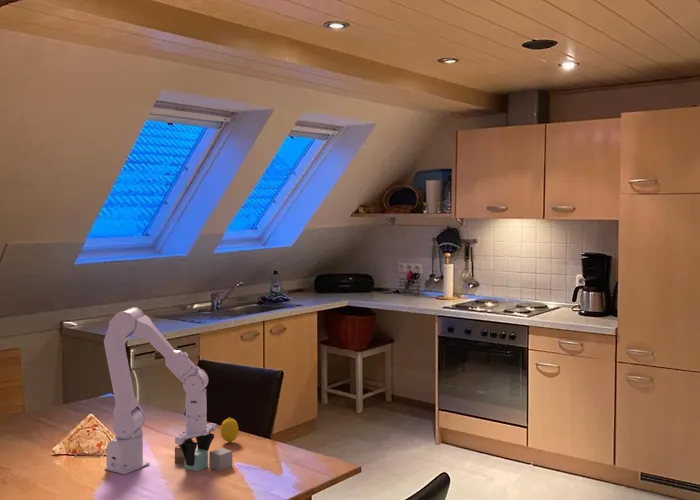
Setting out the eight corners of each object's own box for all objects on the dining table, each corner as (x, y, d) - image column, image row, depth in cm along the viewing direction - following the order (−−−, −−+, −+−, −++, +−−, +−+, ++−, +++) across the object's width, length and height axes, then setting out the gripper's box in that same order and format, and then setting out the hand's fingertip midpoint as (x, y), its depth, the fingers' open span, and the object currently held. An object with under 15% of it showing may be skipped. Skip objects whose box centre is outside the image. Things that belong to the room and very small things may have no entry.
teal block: (196, 471, 191) (196, 455, 191) (184, 468, 193) (184, 452, 193) (207, 466, 195) (207, 450, 195) (195, 463, 197) (195, 447, 197)
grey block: (219, 471, 192) (219, 455, 192) (209, 467, 195) (209, 451, 194) (232, 466, 195) (232, 451, 195) (222, 463, 198) (222, 447, 198)
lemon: (234, 446, 212) (234, 420, 211) (217, 445, 213) (217, 419, 213) (241, 440, 217) (241, 415, 217) (224, 439, 218) (224, 414, 218)
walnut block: (189, 464, 197) (189, 448, 196) (174, 462, 198) (174, 447, 198) (196, 459, 201) (196, 443, 201) (182, 457, 202) (182, 442, 202)
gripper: (188, 423, 185) (188, 473, 186) (224, 410, 198) (224, 457, 198) (169, 419, 189) (169, 468, 189) (205, 406, 201) (205, 452, 202)
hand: (196, 462), depth 194 cm, fingers closed on teal block, 4 cm apart
